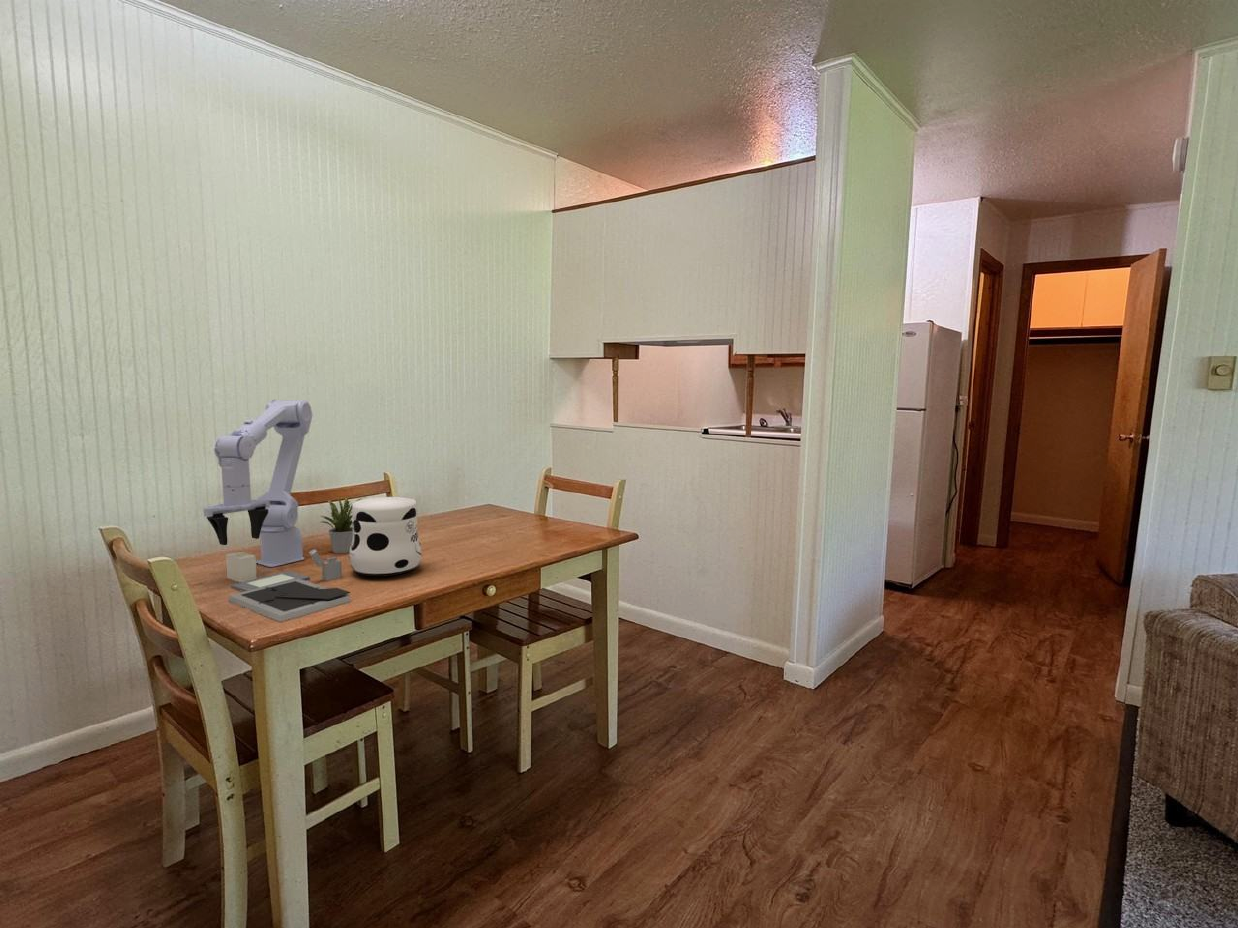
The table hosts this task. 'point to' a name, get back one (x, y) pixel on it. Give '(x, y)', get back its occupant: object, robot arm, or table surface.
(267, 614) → the picture frame
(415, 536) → the milk container
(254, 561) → the beige rectangular block
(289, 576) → the mat
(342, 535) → the house plant
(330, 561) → the lighter
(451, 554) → the table surface
